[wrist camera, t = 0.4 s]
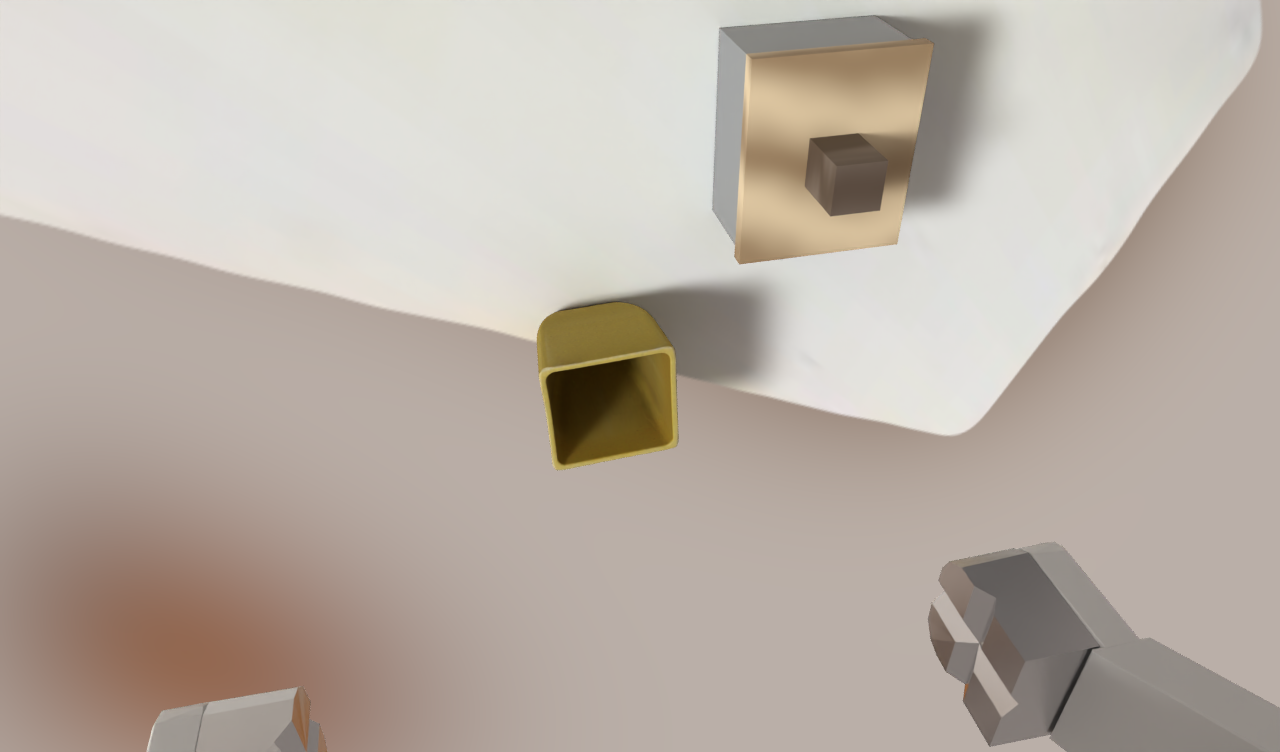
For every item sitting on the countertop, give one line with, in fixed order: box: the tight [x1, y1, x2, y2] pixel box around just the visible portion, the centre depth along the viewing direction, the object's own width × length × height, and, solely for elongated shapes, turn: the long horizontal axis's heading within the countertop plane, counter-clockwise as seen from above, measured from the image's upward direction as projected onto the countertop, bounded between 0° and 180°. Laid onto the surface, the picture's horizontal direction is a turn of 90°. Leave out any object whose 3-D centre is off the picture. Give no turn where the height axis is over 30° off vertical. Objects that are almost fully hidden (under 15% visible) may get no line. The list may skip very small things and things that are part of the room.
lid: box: [734, 38, 934, 264], centre depth 51 cm, size 13×11×6 cm
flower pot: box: [537, 302, 679, 470], centre depth 61 cm, size 9×9×9 cm
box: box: [712, 15, 911, 244], centre depth 55 cm, size 12×10×6 cm
